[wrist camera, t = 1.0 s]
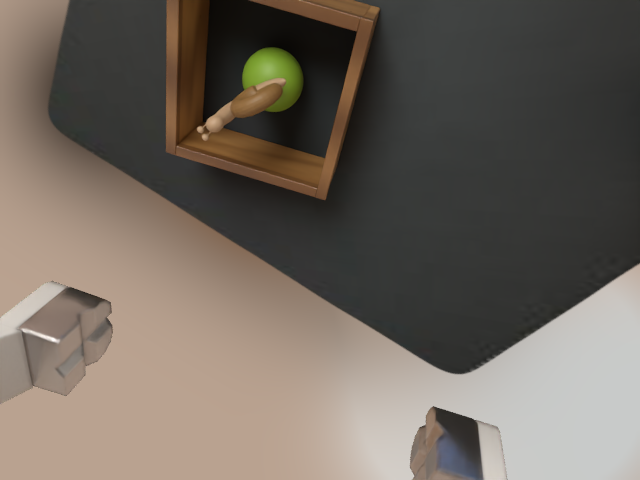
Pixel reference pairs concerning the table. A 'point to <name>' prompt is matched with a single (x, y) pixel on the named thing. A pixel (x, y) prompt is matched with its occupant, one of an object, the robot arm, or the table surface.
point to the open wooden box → (239, 149)
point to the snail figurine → (262, 88)
